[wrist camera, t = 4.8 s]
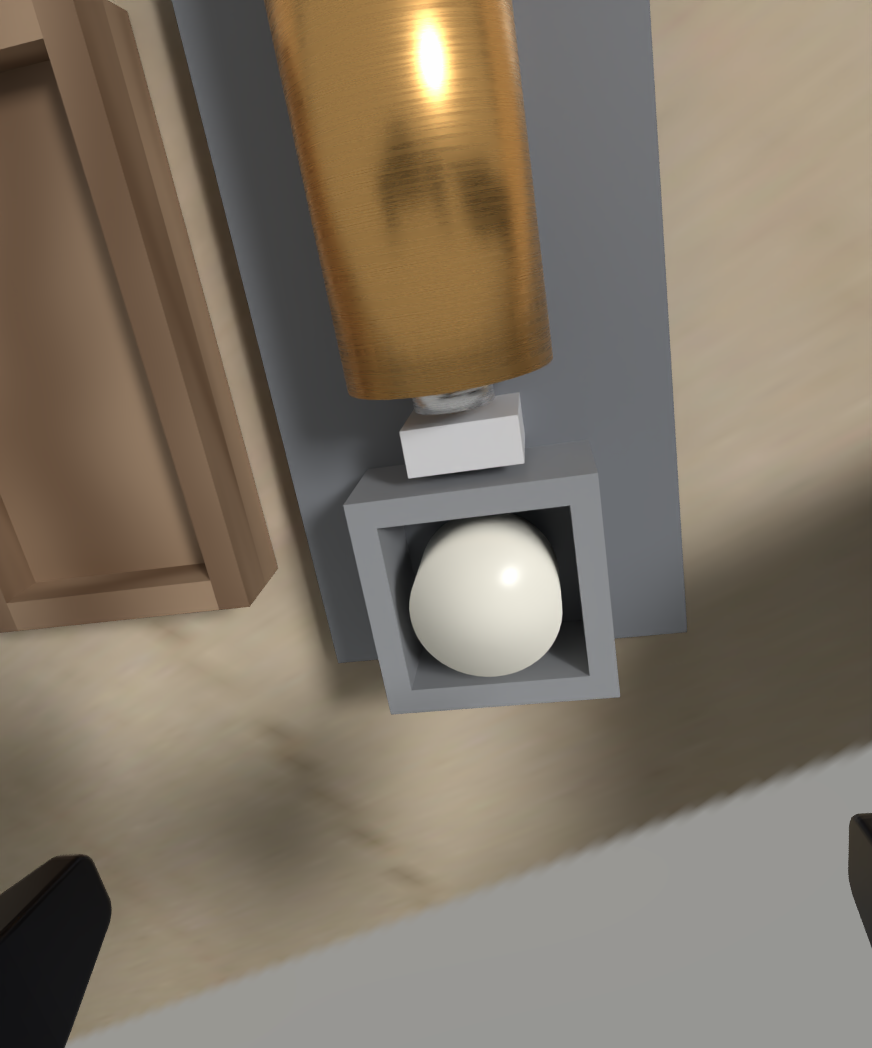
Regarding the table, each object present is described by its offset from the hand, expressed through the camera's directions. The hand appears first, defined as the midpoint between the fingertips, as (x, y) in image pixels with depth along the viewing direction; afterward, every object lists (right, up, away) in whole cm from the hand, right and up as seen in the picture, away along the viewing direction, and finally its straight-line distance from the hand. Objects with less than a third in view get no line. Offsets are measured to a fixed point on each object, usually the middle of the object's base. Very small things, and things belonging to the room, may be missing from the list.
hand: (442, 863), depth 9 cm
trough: (-9, +8, +10) cm, 16 cm away
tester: (0, +9, +8) cm, 12 cm away
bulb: (+1, +3, +8) cm, 9 cm away
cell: (-1, +11, +4) cm, 12 cm away
